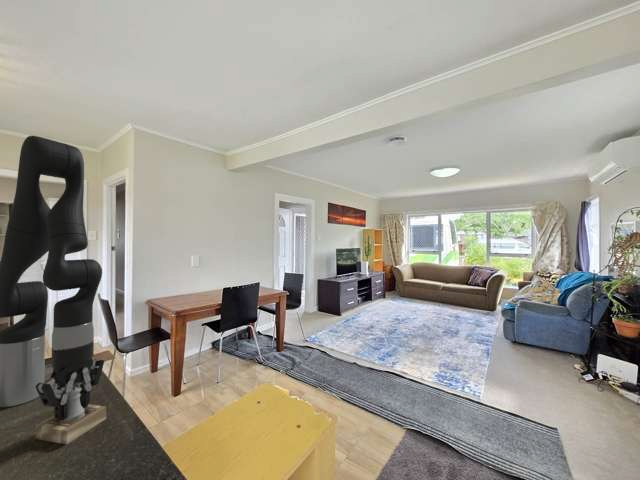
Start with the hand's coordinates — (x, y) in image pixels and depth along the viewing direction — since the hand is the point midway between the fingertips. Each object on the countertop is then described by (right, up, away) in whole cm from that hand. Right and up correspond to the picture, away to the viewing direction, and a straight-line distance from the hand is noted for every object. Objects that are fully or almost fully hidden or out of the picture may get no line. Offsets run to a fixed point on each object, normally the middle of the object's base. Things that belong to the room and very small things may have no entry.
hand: (72, 412), depth 65 cm
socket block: (0, -4, 0) cm, 4 cm away
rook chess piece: (0, -2, 0) cm, 2 cm away
